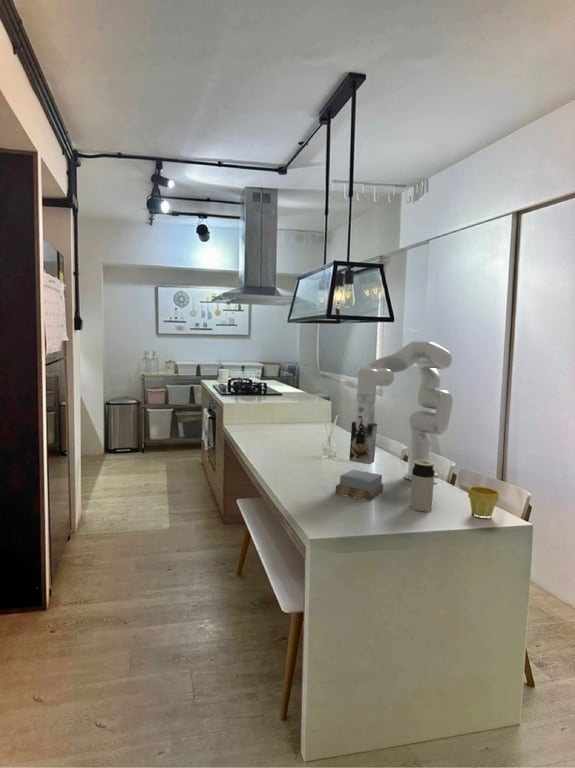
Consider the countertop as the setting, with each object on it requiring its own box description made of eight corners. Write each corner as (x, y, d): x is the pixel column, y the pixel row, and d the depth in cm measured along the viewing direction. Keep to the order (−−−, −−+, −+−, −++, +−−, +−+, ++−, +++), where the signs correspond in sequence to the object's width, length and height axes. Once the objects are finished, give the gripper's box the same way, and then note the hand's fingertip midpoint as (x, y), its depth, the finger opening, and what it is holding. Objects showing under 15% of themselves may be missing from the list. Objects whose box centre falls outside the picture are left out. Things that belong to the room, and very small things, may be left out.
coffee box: (348, 461, 203) (351, 422, 202) (354, 458, 209) (356, 420, 207) (370, 464, 199) (372, 425, 197) (375, 461, 205) (377, 422, 203)
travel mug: (416, 512, 184) (420, 465, 182) (405, 505, 192) (409, 459, 190) (435, 511, 186) (439, 464, 185) (424, 504, 194) (427, 459, 192)
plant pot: (489, 511, 189) (491, 486, 188) (501, 521, 179) (504, 495, 178) (462, 510, 189) (464, 485, 188) (473, 520, 179) (475, 493, 178)
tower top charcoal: (381, 484, 207) (382, 474, 207) (369, 491, 196) (370, 481, 195) (352, 478, 214) (353, 469, 213) (339, 485, 202) (340, 475, 202)
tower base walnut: (382, 493, 208) (383, 484, 207) (370, 502, 195) (370, 492, 194) (349, 486, 215) (349, 477, 215) (335, 495, 202) (335, 485, 202)
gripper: (367, 401, 192) (364, 447, 194) (381, 398, 207) (379, 440, 209) (349, 399, 196) (346, 444, 197) (364, 396, 211) (362, 437, 212)
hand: (363, 441), depth 203 cm, fingers closed on coffee box, 6 cm apart
